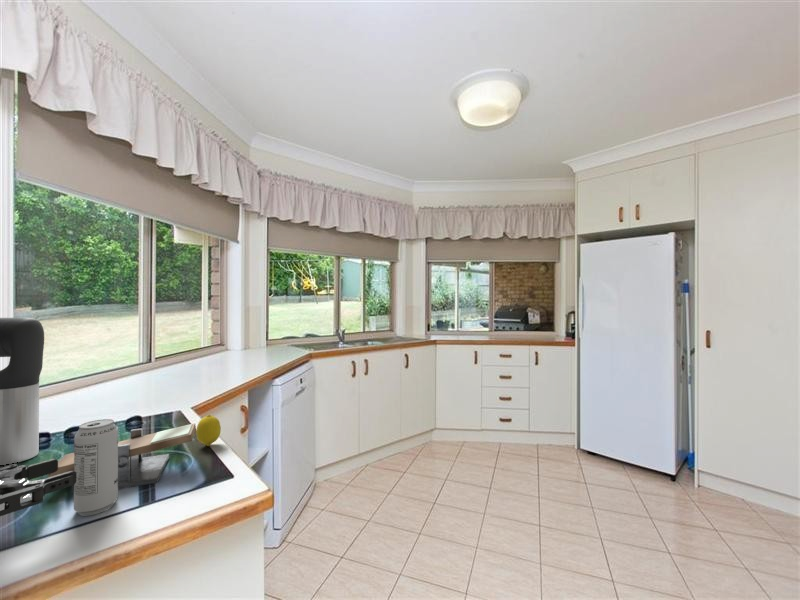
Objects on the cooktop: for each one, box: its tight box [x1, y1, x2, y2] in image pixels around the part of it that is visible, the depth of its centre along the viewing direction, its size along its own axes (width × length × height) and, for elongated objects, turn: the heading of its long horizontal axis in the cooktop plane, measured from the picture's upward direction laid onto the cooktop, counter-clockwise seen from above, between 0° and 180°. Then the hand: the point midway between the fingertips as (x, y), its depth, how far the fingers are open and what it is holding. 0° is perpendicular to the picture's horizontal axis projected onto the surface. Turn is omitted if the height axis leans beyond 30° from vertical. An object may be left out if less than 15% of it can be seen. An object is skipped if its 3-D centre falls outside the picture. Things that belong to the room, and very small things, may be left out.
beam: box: [48, 423, 197, 478], centre depth 78 cm, size 24×8×2 cm, turn 114°
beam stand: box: [118, 427, 170, 490], centre depth 78 cm, size 12×13×8 cm
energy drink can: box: [73, 418, 119, 517], centre depth 65 cm, size 6×6×15 cm
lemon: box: [195, 414, 222, 447], centre depth 94 cm, size 6×6×8 cm
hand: (66, 470), depth 62 cm, fingers open, 8 cm apart
